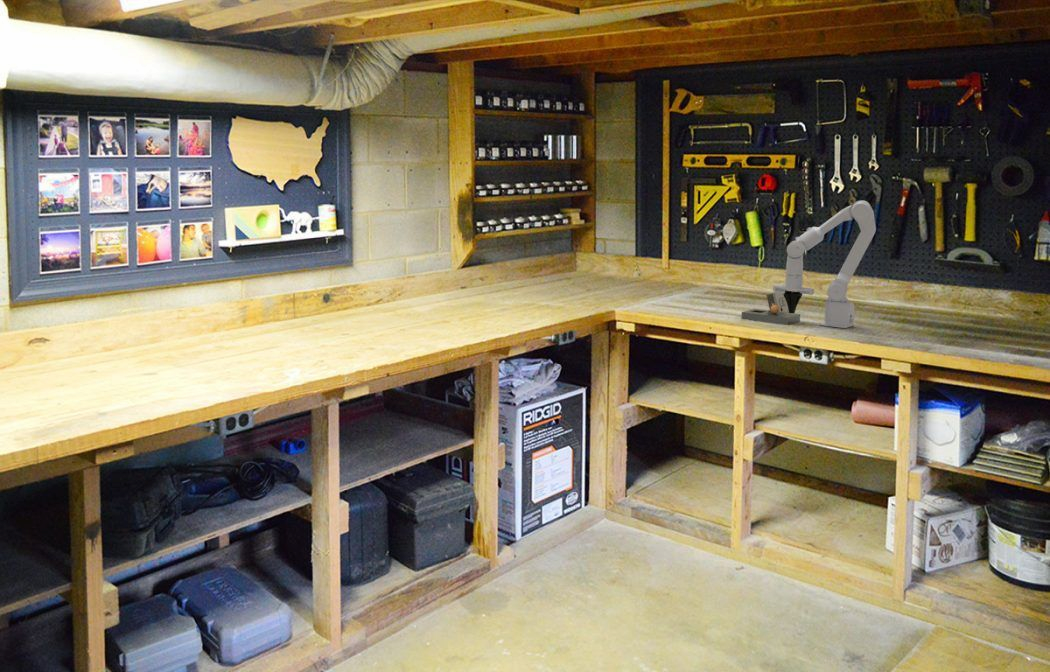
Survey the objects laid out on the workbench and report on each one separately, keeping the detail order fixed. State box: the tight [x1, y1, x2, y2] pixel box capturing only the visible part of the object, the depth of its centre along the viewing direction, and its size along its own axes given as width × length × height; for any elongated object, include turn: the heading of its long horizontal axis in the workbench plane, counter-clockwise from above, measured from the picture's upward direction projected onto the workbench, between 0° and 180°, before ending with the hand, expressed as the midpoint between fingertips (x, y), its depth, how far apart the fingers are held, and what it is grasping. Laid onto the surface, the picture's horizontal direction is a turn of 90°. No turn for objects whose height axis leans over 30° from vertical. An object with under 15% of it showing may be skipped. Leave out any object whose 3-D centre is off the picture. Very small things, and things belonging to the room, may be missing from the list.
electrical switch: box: [766, 290, 789, 313], centre depth 357 cm, size 9×5×9 cm, turn 141°
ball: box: [769, 304, 780, 314], centre depth 343 cm, size 3×3×3 cm
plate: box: [740, 308, 801, 326], centre depth 344 cm, size 18×10×2 cm, turn 50°
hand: (791, 312), depth 339 cm, fingers closed
